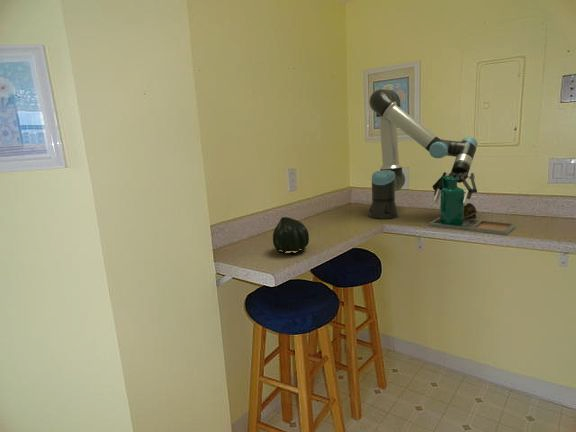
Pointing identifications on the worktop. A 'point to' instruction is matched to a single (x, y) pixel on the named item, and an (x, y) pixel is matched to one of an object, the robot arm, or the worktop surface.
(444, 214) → the green bottle
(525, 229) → the worktop surface
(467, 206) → the brown mottled shell
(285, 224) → the squash
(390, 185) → the robot arm
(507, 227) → the rail
